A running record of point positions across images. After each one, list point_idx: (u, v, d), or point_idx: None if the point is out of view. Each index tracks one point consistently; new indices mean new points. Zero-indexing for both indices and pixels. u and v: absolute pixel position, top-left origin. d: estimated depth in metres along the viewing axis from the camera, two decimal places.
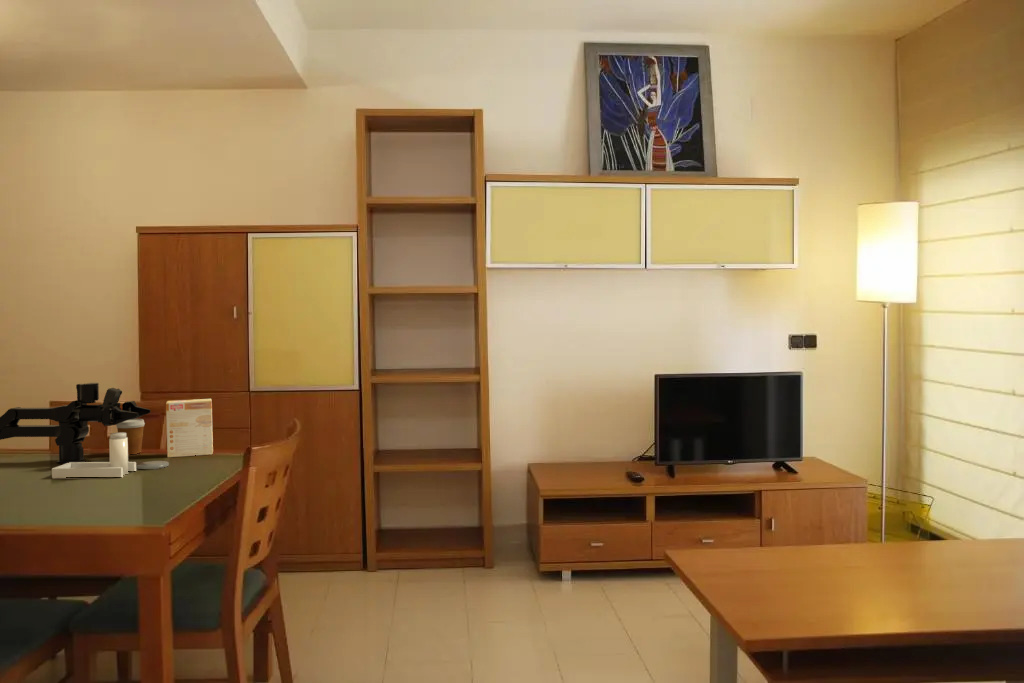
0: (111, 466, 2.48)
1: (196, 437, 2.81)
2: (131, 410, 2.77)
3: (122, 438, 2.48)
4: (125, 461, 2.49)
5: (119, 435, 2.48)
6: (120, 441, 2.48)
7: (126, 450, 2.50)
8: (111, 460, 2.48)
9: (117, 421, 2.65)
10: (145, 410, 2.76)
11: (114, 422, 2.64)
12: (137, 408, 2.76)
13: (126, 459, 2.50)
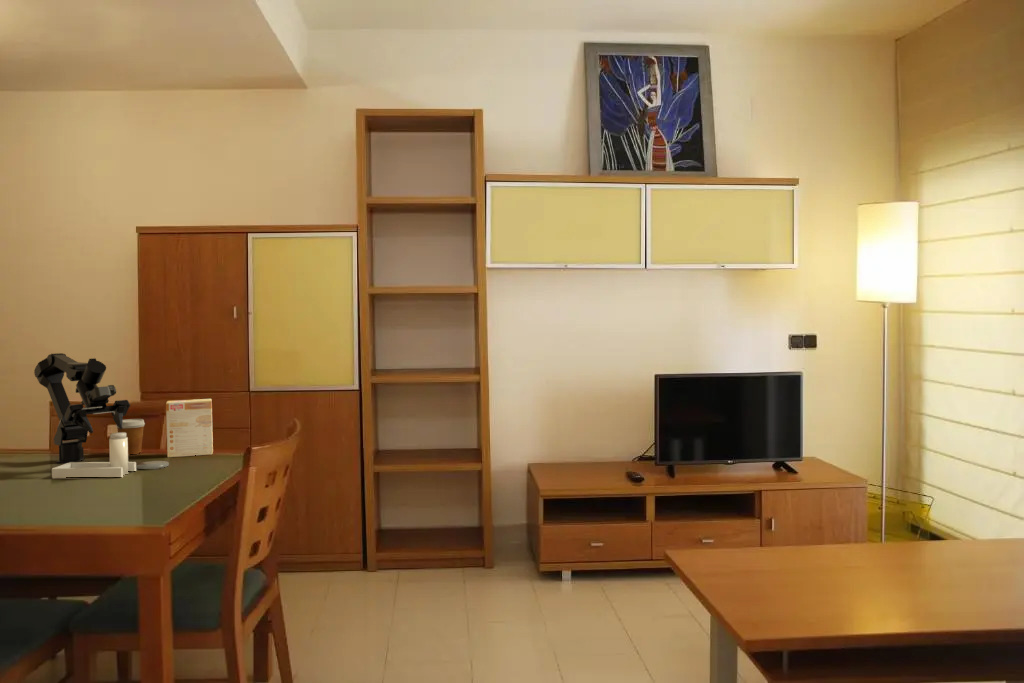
0: (111, 466, 2.48)
1: (196, 437, 2.81)
2: (116, 412, 2.61)
3: (122, 438, 2.48)
4: (126, 461, 2.49)
5: (119, 435, 2.48)
6: (120, 441, 2.48)
7: (126, 450, 2.50)
8: (111, 460, 2.48)
9: (77, 422, 2.53)
10: (119, 424, 2.58)
11: (73, 422, 2.52)
12: (118, 416, 2.60)
13: (126, 459, 2.50)
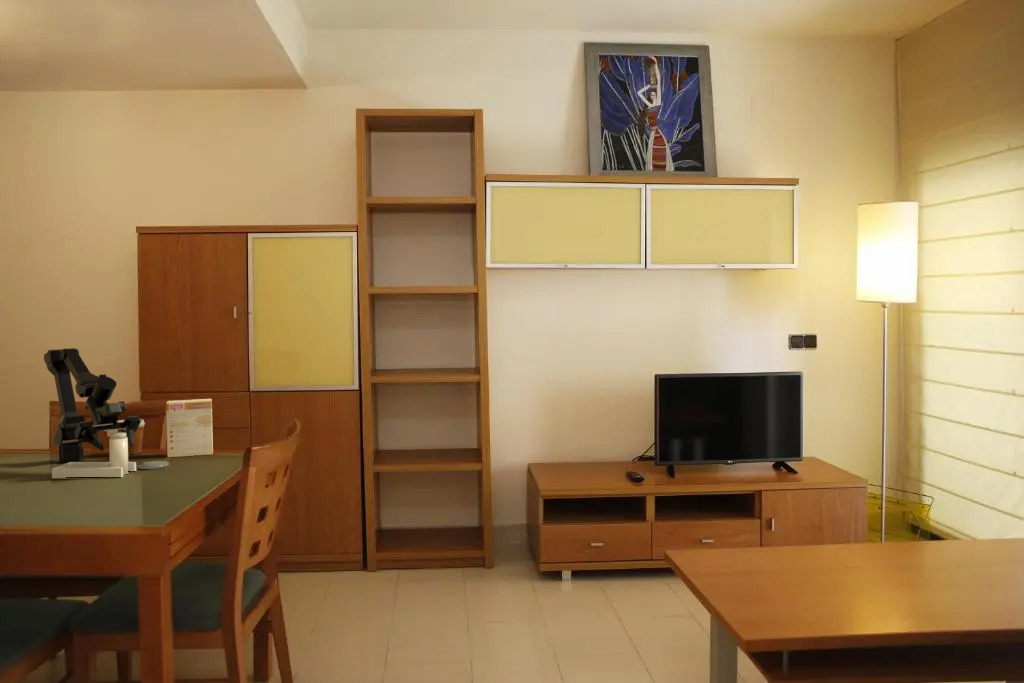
0: (111, 466, 2.48)
1: (196, 437, 2.81)
2: (126, 428, 2.57)
3: (122, 438, 2.48)
4: (126, 461, 2.49)
5: (119, 435, 2.48)
6: (120, 441, 2.48)
7: (126, 450, 2.50)
8: (111, 460, 2.48)
9: (87, 439, 2.48)
10: (130, 441, 2.54)
11: (83, 439, 2.48)
12: (128, 432, 2.55)
13: (126, 459, 2.50)
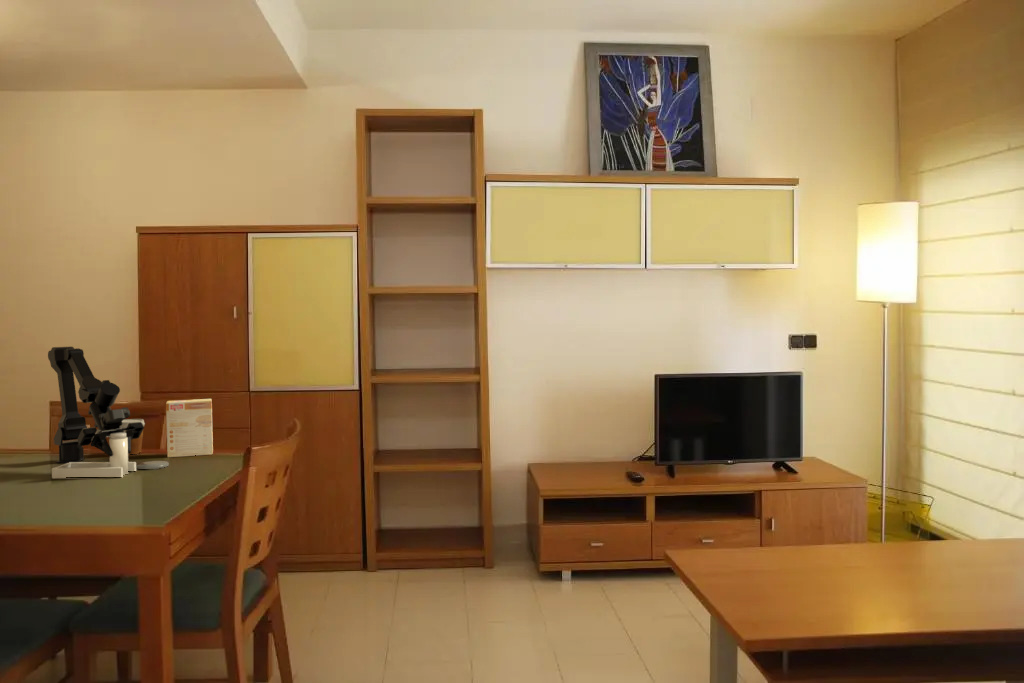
0: (111, 466, 2.48)
1: (196, 437, 2.81)
2: None
3: (122, 438, 2.48)
4: (126, 461, 2.49)
5: (119, 435, 2.48)
6: (120, 441, 2.48)
7: (126, 450, 2.50)
8: (111, 460, 2.48)
9: (96, 445, 2.49)
10: None
11: (92, 444, 2.48)
12: None
13: (126, 459, 2.50)
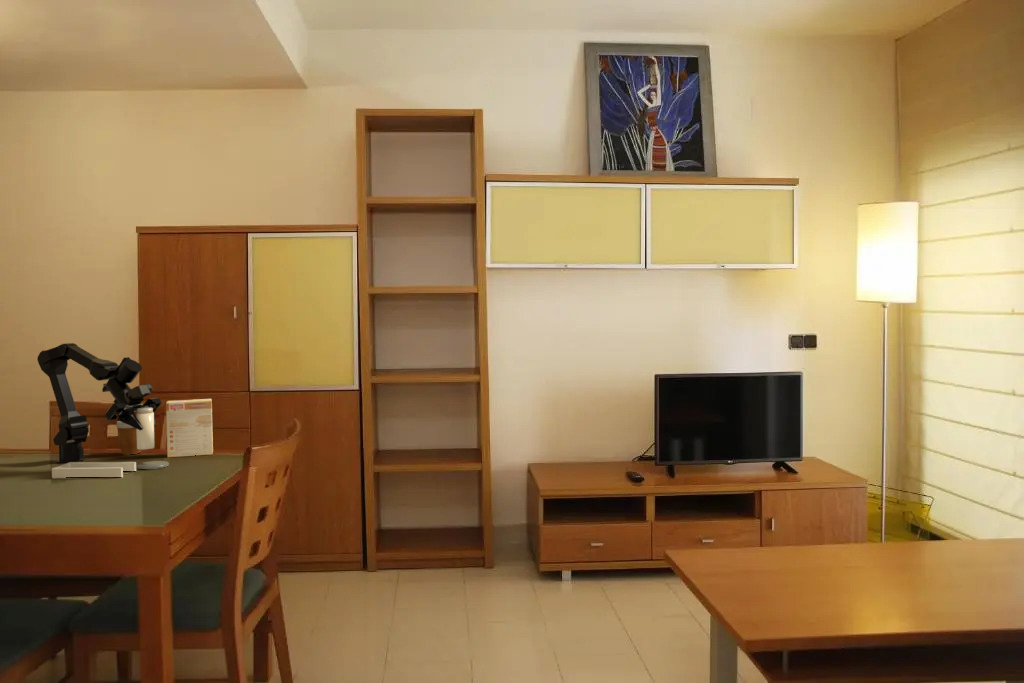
0: (140, 440, 2.57)
1: (196, 437, 2.81)
2: None
3: (151, 412, 2.58)
4: (153, 435, 2.59)
5: (148, 409, 2.57)
6: (149, 415, 2.57)
7: (153, 424, 2.59)
8: (140, 433, 2.56)
9: (123, 420, 2.56)
10: None
11: (119, 419, 2.55)
12: None
13: (153, 432, 2.59)
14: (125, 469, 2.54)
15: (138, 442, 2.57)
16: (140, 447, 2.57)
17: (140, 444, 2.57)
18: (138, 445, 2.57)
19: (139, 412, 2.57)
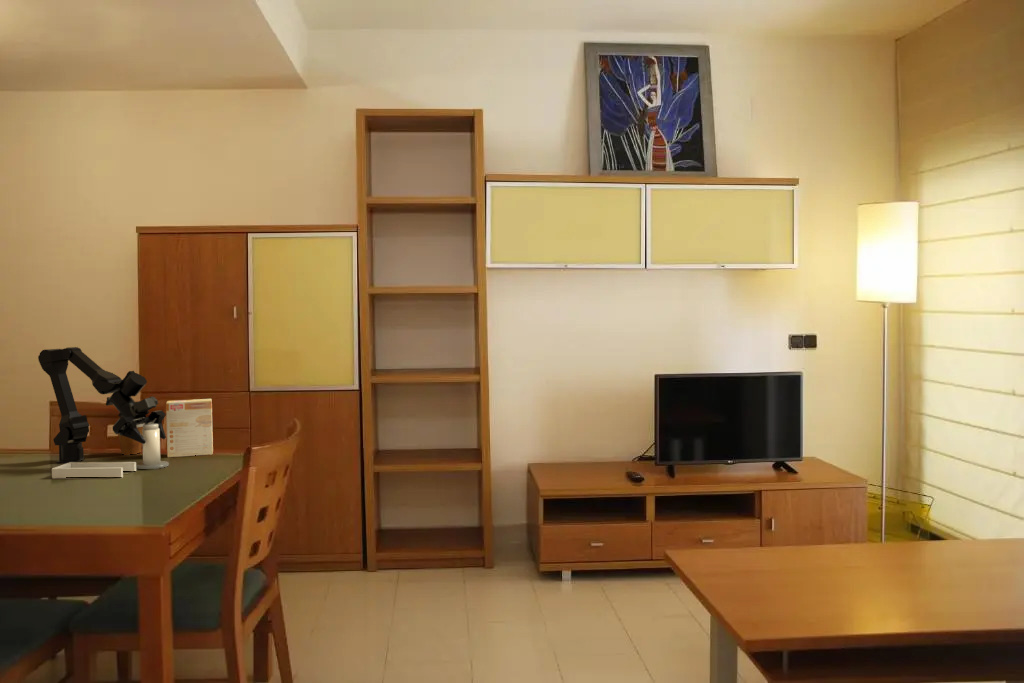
0: (147, 456, 2.60)
1: (196, 437, 2.81)
2: (154, 422, 2.68)
3: (157, 428, 2.61)
4: (159, 451, 2.62)
5: (154, 426, 2.60)
6: (156, 431, 2.60)
7: (159, 440, 2.63)
8: (147, 450, 2.59)
9: (125, 434, 2.57)
10: (162, 434, 2.66)
11: (122, 434, 2.56)
12: (158, 426, 2.67)
13: (159, 448, 2.63)
14: (125, 469, 2.54)
15: (145, 458, 2.60)
16: (147, 463, 2.60)
17: (147, 460, 2.60)
18: (145, 461, 2.60)
19: (145, 428, 2.59)
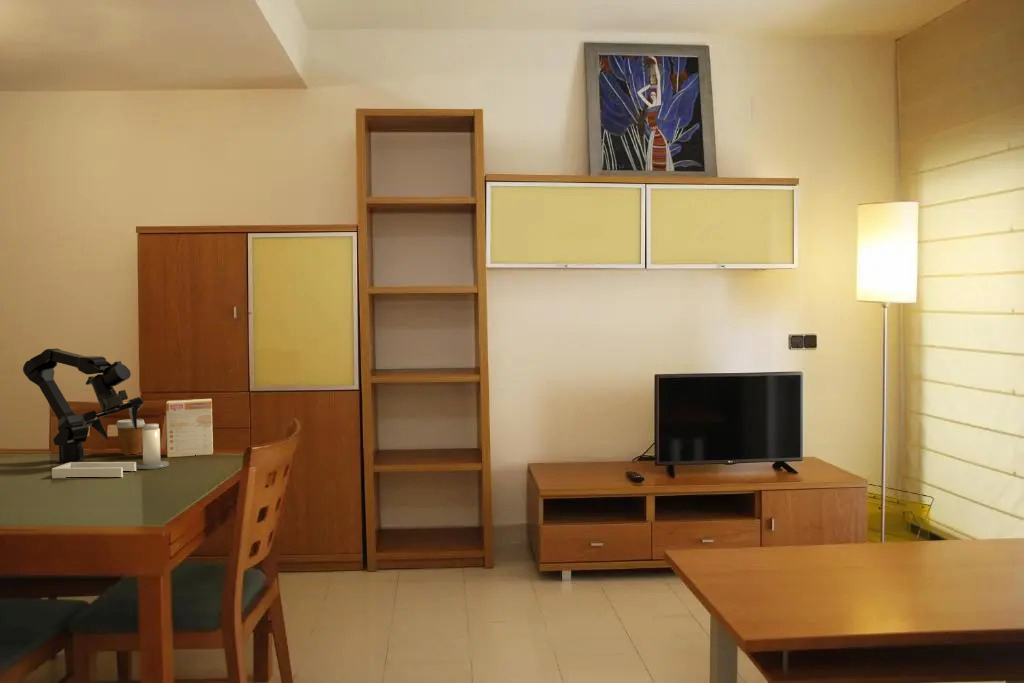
0: (147, 456, 2.60)
1: (196, 437, 2.81)
2: (130, 410, 2.68)
3: (157, 428, 2.61)
4: (159, 451, 2.62)
5: (155, 426, 2.60)
6: (156, 431, 2.60)
7: (159, 440, 2.63)
8: (147, 450, 2.59)
9: (93, 426, 2.62)
10: (134, 425, 2.67)
11: (89, 425, 2.62)
12: (132, 416, 2.67)
13: None
14: (125, 469, 2.54)
15: (145, 458, 2.60)
16: (147, 463, 2.60)
17: (147, 460, 2.60)
18: (145, 461, 2.60)
19: (146, 428, 2.60)
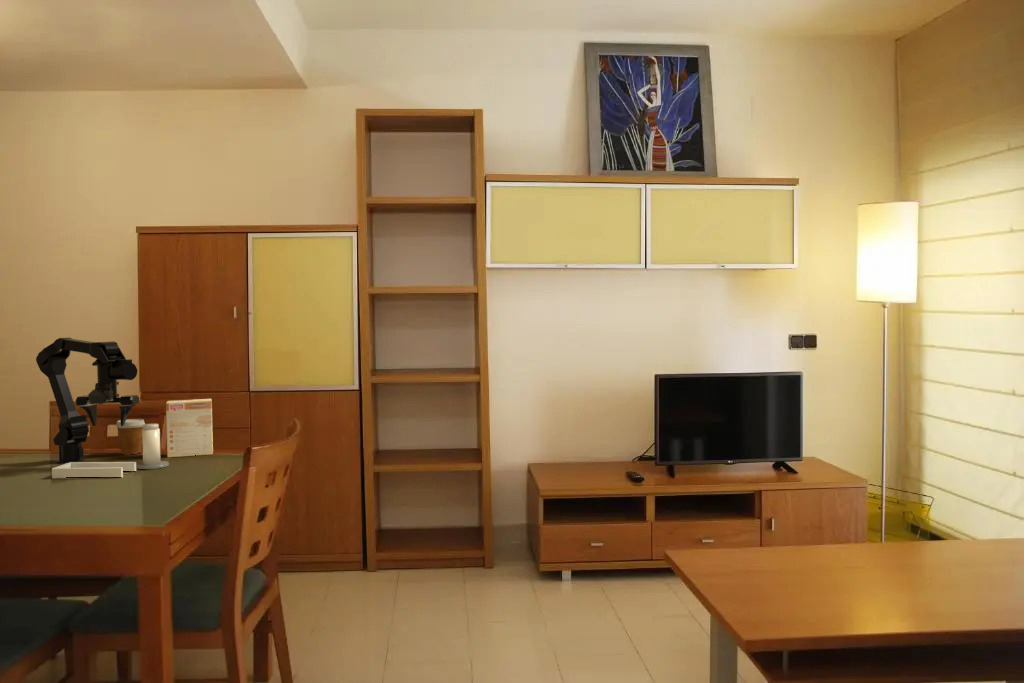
0: (147, 456, 2.60)
1: (196, 437, 2.81)
2: None
3: (157, 428, 2.61)
4: (159, 451, 2.62)
5: (155, 426, 2.60)
6: (156, 431, 2.60)
7: (159, 440, 2.63)
8: (147, 450, 2.59)
9: None
10: None
11: None
12: None
13: (159, 448, 2.63)
14: (125, 469, 2.54)
15: (145, 458, 2.60)
16: (147, 463, 2.60)
17: (147, 460, 2.60)
18: (145, 461, 2.60)
19: (146, 428, 2.59)
